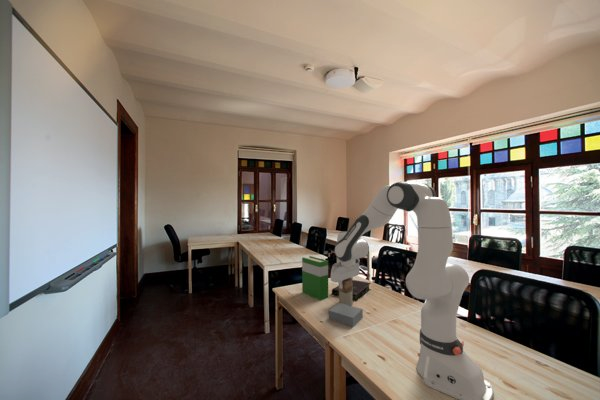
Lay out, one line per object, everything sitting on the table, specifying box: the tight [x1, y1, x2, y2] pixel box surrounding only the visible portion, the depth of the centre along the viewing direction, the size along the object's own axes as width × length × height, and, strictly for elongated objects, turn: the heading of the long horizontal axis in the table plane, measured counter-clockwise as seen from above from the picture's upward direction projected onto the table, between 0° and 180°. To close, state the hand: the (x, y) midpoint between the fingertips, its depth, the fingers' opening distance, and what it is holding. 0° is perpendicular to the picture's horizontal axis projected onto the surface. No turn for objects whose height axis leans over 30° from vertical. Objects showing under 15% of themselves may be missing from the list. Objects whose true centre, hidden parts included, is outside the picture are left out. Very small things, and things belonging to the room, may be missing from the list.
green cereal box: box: [301, 255, 329, 301], centre depth 160 cm, size 18×7×24 cm, turn 39°
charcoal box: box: [328, 302, 364, 328], centre depth 128 cm, size 14×12×5 cm
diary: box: [331, 279, 372, 302], centre depth 165 cm, size 19×25×5 cm
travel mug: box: [338, 278, 353, 306], centre depth 147 cm, size 8×8×18 cm
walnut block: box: [339, 279, 352, 293], centre depth 128 cm, size 5×5×6 cm
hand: (345, 286), depth 128 cm, fingers closed on walnut block, 5 cm apart
